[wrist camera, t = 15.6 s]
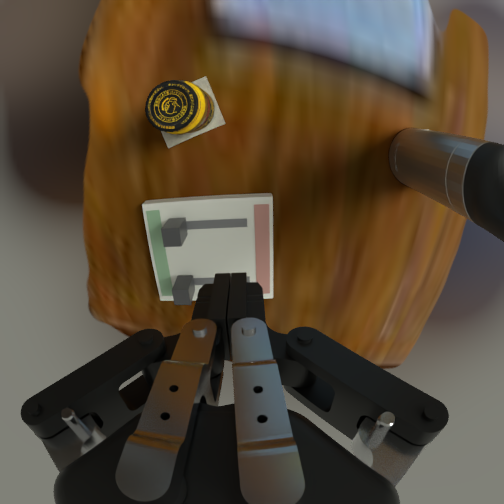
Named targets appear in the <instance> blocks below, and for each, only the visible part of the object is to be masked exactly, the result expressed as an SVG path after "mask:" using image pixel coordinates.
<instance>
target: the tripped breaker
mask: <svg viewBox="0 0 504 504" xmlns="http://www.w3.org/2000/svg"><path fill="white" fill-rule="evenodd" d="M194 292H195V285H194V278H193V275H185V276H177V278H176V281H175V283H174V286H173V288H172V294H173V299H174V304H175V305H191V303H192V299H193V296H194Z"/></svg>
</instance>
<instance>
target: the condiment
mask: <svg viewBox="0 0 504 504" xmlns="http://www.w3.org/2000/svg"><path fill="white" fill-rule="evenodd" d="M145 112H146V116H147V118H148V120H149V122H150V123H151V124H152V125H153V126H154V127H155V128H157V129H159V130H160V131H161V133H162V135H163V137H164V139H165V142H166V144H167V147H168V148H170V147H172V146H174V145H177V144H179V143H181V142H183V141H185V140H188V139H190V138H192V137H194V136H197V135H199V134H201V133H204V132H206V131H209V130H211V129H213V128H216V127H218V126H221V125H223V124H225V121H224V119H223V116H222V114H221V111H220V109H219V107H218V104H217V102H216V99H215V97H214V95H213V92H212V90H211V87H210V85H209V83H208V80H207V78H206V76H205V77H203V78H201V79H198V80H196V81H194V82H188V81H182V80H171V81H166V82H163V83H161V84H160V85H157V86H156V87H155V88H154V89H152V91H151V92H150V94H149V96H148V98H147V101H146V107H145Z"/></svg>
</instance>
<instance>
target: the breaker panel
mask: <svg viewBox="0 0 504 504" xmlns="http://www.w3.org/2000/svg"><path fill="white" fill-rule="evenodd" d="M142 208H143V215H144V221H145V227H146V232H147V238H148V244H149V249H150V254H151V259H152V264H153V269H154V273H155V278H156V283H157V287H158V291H159V296H160V300H161V301H174V299H173V294H172V288H173V286H174V283H175V281H176V278H177V276H185V275H193V278H194V285H195V292H194V296H193V299H192V300H196V299H197V296H198V292H199V289H200V288H201V287H202V286H203V285H204V284H213V282H214V277H215V273H241V272H246V273H247V282H258V283H259V284H260V285H261V287H262V288H263V298H264V299H267V298H273V196H272V193H258V194H233V195H213V196H197V197H183V198H170V199H158V200H146V201H145V202H144V203H143V204H142ZM185 217H186V225H187V233H188V235H187V237H186V239H185V241H184V243H183V245H182V246H180V247H164V245H163V239H162V233H161V228H162V227H163V225H164V224H165V223H166V222H167V220H168V219H169V218H185Z"/></svg>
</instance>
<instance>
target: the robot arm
mask: <svg viewBox="0 0 504 504" xmlns="http://www.w3.org/2000/svg"><path fill="white" fill-rule="evenodd" d="M389 163H390V167H391V170H392V172H393V174H394V176H395V177H396V178H397V179H398V180H399V181H400V182H401V183H403V184H404V185H406V186H408V187H410V188H412V189H414V190H416V191H418V192H420V193H422V194H424V195H426V196H428V197H430V198H432V199H433V200H435V201H437V202H439V203H441V204H443V205H445V206H446V207H448V208H450V209H452V210H453V211H455V212H457V213H459V214H460V215H462V216H464V217H466V218H467V219H469V220H471V221H472V222H474V223H475V224H477V225H479V226H480V227H482V228H484V229H485V230H487V231H489V232H490V233H492V234H493V235H494V236H496V237H497V238H499V239H500V240H502V241H503V242H504V145H502V144H498V143H494V142H490V141H485V140H481V139H476V138H471V137H466V136H461V135H456V134H450V133H444V132H438V131H431V130H424V129H417V128H408V129H405V130H403V131H401V132H400V133H398V134H397V135H396V137H395V138H394V140H393V141H392V143H391V146H390V151H389ZM230 356H231V357H232V360H233V364H232V368H233V369H232V370H233V387H234V404H230V405H225V406H218V404H219V397H220V392H221V387H222V380H223V376H224V372H223V368H224V360H230ZM140 371H142V374H143V375H142V376H140V377H139V378H137V379H136V380H134V381H133V382H131V383H130V384H129V385H127V386H126V387H124V388H123V389H121V390H120V391H119V387H120V385H121V384H122V383H124V382H125V381H127V380H128V379H130V378H131V377H133V376H134V375H136V374H137V373H138V372H140ZM282 385H284V388H285V390H286V391H288V393H290V394H291V395H292V396H293V397H295V398H296V399H297V400H298V401H300V402H301V403H302V404H304V405H305V406H306V407H307V408H309V409H310V410H312V411H313V412H314V413H315V414H317V415H318V416H319V417H321V418H322V419H323V420H325V421H326V422H328V423H329V424H330V425H332V426H333V427H335V428H336V429H337V430H339V431H340V432H342V433H343V434H344V435H346V436H347V437H349V438H350V439H352V444H351V448H352V451H353V453H354V454H355V456H354V455H353V454H351V453H350V452H349V451H348V450H346V449H345V448H344V447H342V446H341V445H340V444H338V443H337V442H336V441H335V440H333V439H332V438H331V437H330V436H328V435H327V434H326V433H324V432H323V431H322V430H321V429H320V428H318V427H317V426H316V425H315V424H313V423H312V422H311V421H310V420H308V419H307V418H305V417H304V416H302V415H301V414H299V413H297V412H294V411H291V410H289V409H287V407H286V403H285V398H284V393H283V388H282ZM21 417H22V420H23V421H24V422H25V423H26V424H27V425H28V426H29V427H30V429H31V430H32V431H33V432H34V433H35V435H36V436H37V437H38V438H39V439H40V440H41V441H42V442H43V444H44V446H45V447H46V449H47V451H48V453H49V455H50V457H51V458H52V460H53V462H54V464H55V465H56V467H57V469H58V470H59V472H60V473H59V475H58V476H57V479H56V481H55V484H54V499H55V503H56V504H400V500H399V496H398V493H397V490H396V489H395V486H396V485H397V484H398V482H399V481H400V480H401V479H402V477H403V476H404V475H405V473H406V472H407V471H408V469H409V468H410V466H411V465H412V464H413V462H414V461H415V459H416V458H417V457H418V455H419V454H420V453H421V452H422V451H423V450H424V449H425V448H426V447H427V446H428V445H429V444H430V443H431V442H432V441H433V439H434V438H435V437H436V436H437V435H438V434H439V433H440V431H441V430H442V429H443V428H444V427H445V425H446V424H447V422H448V418H449V415H448V410H447V408H446V407H445V405H444V404H443V403H442V402H440V401H439V400H437V399H435V398H433V397H431V396H429V395H428V394H426V393H424V392H422V391H421V390H419V389H417V388H415V387H413V386H412V385H409V384H408V383H406V382H404V381H403V380H401V379H399V378H397V377H396V376H394V375H392V374H390V373H389V372H387V371H385V370H383V369H382V368H380V367H378V366H376V365H375V364H373V363H371V362H370V361H368V360H366V359H364V358H363V357H361V356H359V355H358V354H356V353H354V352H353V351H351V350H349V349H348V348H346V347H344V346H343V345H341V344H339V343H338V342H336V341H334V340H333V339H331V338H329V337H328V336H326V335H324V334H323V333H321V332H319V331H318V330H316V329H314V328H310V327H298V328H295V329H293V330H291V331H290V332H289V333H288V334H281V333H277V332H275V331H273V330H271V329H270V328H269V327H268V326H267V324H266V321H265V310H264V298H263V288H262V287H261V285H260V284H259V283H258V282H247V273H246V272H241V273H215V277H214V282H213V284H204V285H203V286H202V287H201V288H200V289H199V292H198V296H197V299H196V303H195V307H194V311H193V315H192V319H191V321H189V322H188V323H186V324H185V325H184V327H183V329H182V331H181V333H179V334H177V335H173V336H168V337H163V335H162V333H161V332H160V331H158V330H155V329H144V330H141V331H139V332H137V333H135V334H134V335H132V336H130V337H129V338H127V339H126V340H124V341H123V342H121V343H119V344H118V345H116V346H114V347H113V348H111V349H109V350H108V351H106V352H105V353H103V354H101V355H100V356H98V357H97V358H95V359H93V360H92V361H90V362H89V363H87V364H85V365H84V366H82V367H80V368H78V369H77V370H75V371H73V372H72V373H70V374H69V375H67V376H65V377H64V378H62V379H60V380H59V381H57V382H55V383H54V384H52V385H50V386H49V387H47V388H46V389H44V390H42V391H41V392H39V393H37V394H36V395H34V396H32V397H31V398H29V399H28V400H27V401H26V402H25V403H24V404H23V406H22V409H21Z"/></svg>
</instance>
